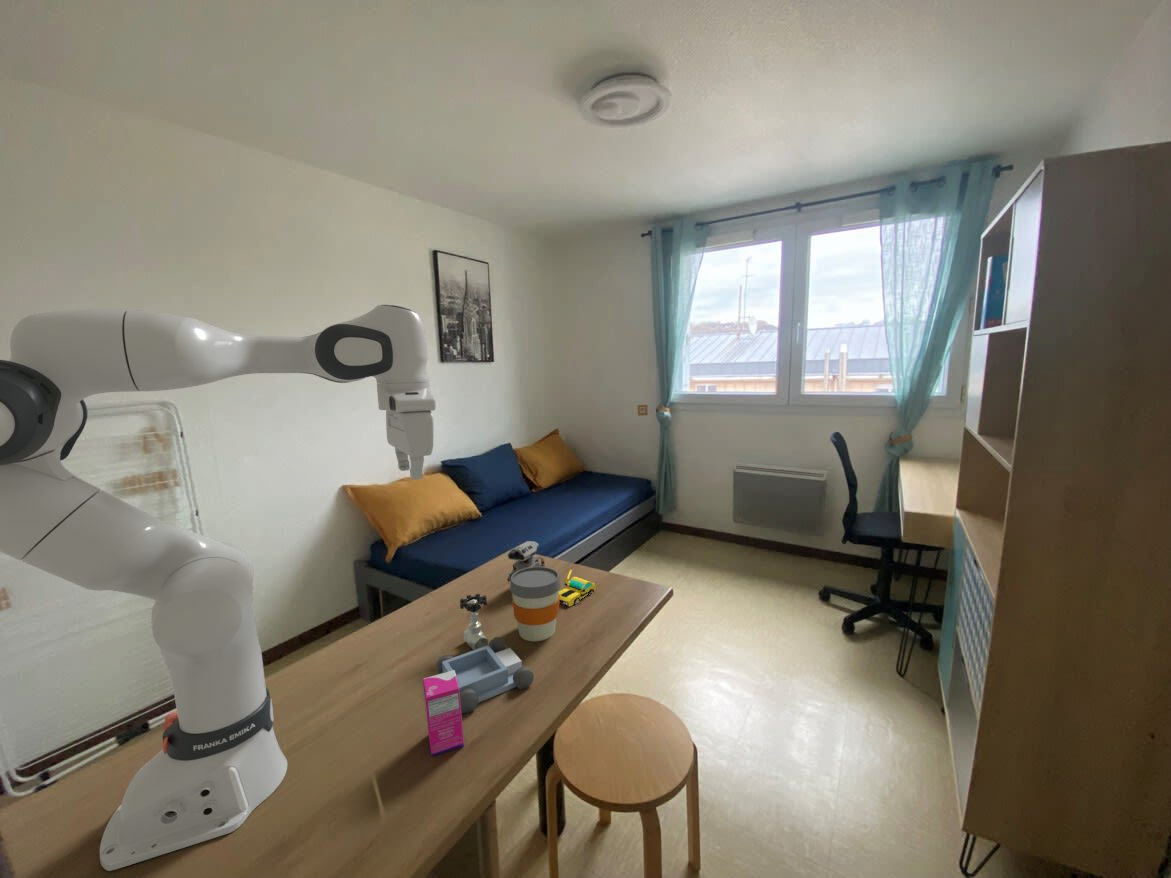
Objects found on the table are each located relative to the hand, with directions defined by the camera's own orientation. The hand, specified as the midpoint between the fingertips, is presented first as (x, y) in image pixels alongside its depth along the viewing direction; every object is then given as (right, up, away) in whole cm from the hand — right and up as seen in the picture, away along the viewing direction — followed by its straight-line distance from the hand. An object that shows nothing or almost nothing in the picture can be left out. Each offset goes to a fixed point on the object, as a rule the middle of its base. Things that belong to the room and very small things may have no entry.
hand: (410, 474), depth 86 cm
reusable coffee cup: (+20, -43, +32) cm, 57 cm away
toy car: (+29, -40, +49) cm, 70 cm away
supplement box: (+7, -48, -2) cm, 48 cm away
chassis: (+11, -45, +14) cm, 49 cm away
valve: (+6, -44, +27) cm, 52 cm away
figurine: (+14, -40, +54) cm, 69 cm away
